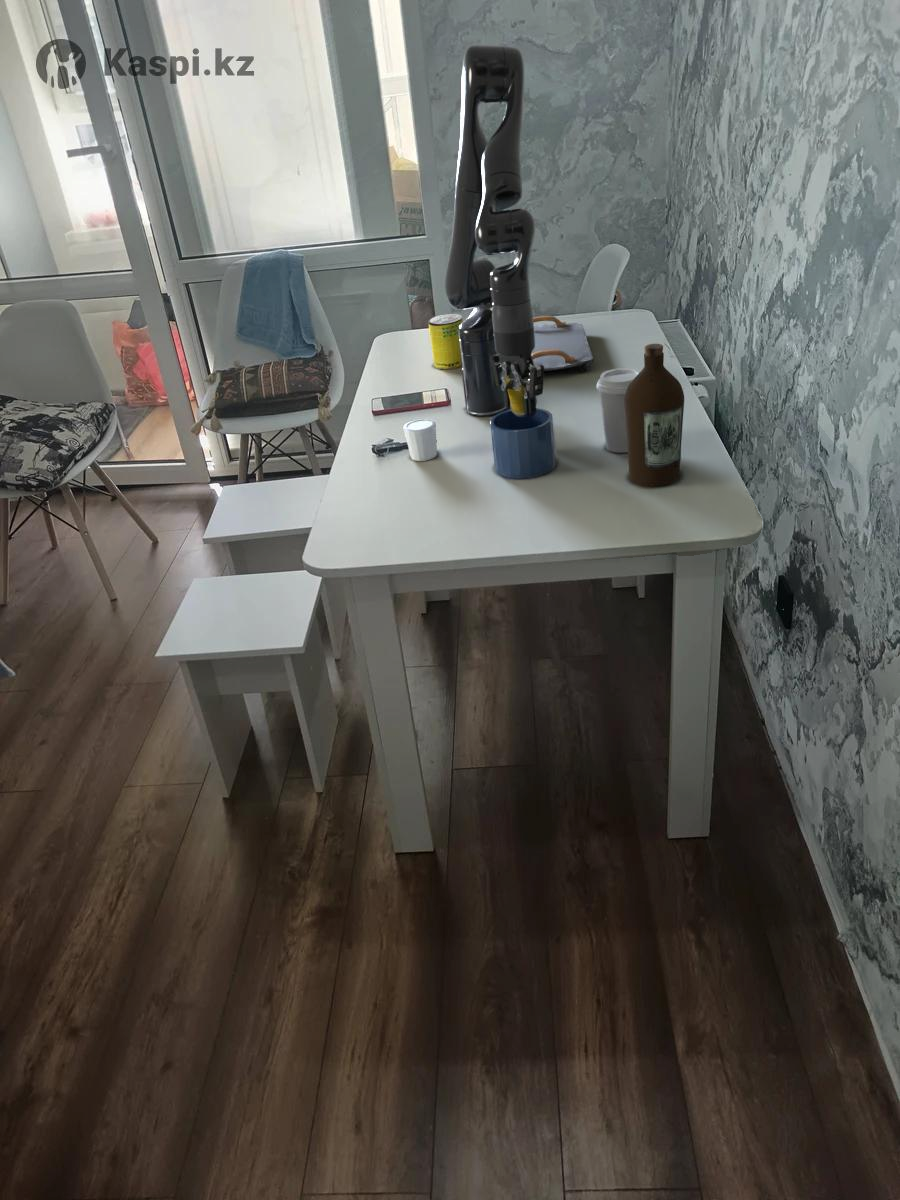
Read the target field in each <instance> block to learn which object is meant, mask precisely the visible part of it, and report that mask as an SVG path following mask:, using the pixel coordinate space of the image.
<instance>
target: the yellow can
mask: <svg viewBox="0 0 900 1200" xmlns="http://www.w3.org/2000/svg"><path fill="white" fill-rule="evenodd" d="M462 316H463V315H461V314H459V313H445V314H440V315H436V316H432V317H430V318H429V319H428V320H427V324H428V330H429V331H428V332H429V340H430V346H431V354H432V360H433V366H434V368H435V369H439V370H453V369H457V368H461V367H463V364H462V356H461V348H460V340H459V330H458V329H459V326H460V324H461V323H462V322H463V317H462Z"/></svg>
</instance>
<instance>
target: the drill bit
mask: <svg viewBox="0 0 900 1200" xmlns="http://www.w3.org/2000/svg"><path fill="white" fill-rule="evenodd" d="M513 389H514V388H513ZM513 389H507V390H508V394H509V398H510V409H511V411H512V412H513V413H514V414H515V415H516V416H518V417H526V416H525V410H524V399H523V398H524V396H523V393H522V390H521V389H520V390H519V389H515V390H513ZM527 390H528V391H529V389H527ZM535 399H536V405H537V404H538V399H537V396H536V397H535Z"/></svg>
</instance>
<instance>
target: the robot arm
mask: <svg viewBox="0 0 900 1200" xmlns="http://www.w3.org/2000/svg"><path fill="white" fill-rule="evenodd" d="M524 95H525V61H524V55H523V53H522V52H521V50H520V49H519V48H517V47H515V46H505V45H503V46H502V45H484V44H483V45H482V44H481V45H480V44H477V45H475V44H473V45H470V46H469V47H467V49H466V51H465V53H464V56H463V60H462V70H461V100H460V101H461V103H460V105H461V106H460V134H459V135H460V137H459V148H458V149H459V150H458V158H457V167H456V179H455V190H454V208H453V209H454V211H453V213H454V214H453V221H452V222H453V223H452V231H451V233H452V234H451V241H450V247H449V253H448V259H447V264H446V271H445V277H444V278H445V281H444V286H445V294H446V295H445V296H446V298H447V301H448V304H449V305H450V306H451V307H452V308H453V309H454V310H457V311H463V310H468V309H473V310H472V312H471V313H470V315H468V316H467V318H466V319H464V320H462V323H461V324H460V326H459V329H458V330H459V340H460V348H461V356H462V364H463V366H462V369H461V377H462V378H461V379H462V387H463V394H464V404H465V408H466V409H467V411H466V412H467V413H468V414H470V415H473V416H477V417H488V416H495V415H497V414H499V413H501V412H504V411H506V410H511V409H510V398H509V394H508V390H507V389H513V390H516V389H515V386H516V384H517V387H518V388H519V389H520V391H521V390H522V393H523V396H524V398H523V399H524V410H525V416H528V417H530V416H532V415H535V413H536V408H537V404H536V399H537V396H540V395H543V394H544V380H545V371H544V366H543V365H542V364H541V365H539V366H537V365H536V364H534V362H533V359H532V356H531V353H532V351H533V349H534V348H535V336H534V326H535V322H534V323H533V318H534V312H533V311H534V310H533V307H532V301H531V300H532V299H531V289H530V288H531V287H530V262H531V255H532V250H533V245H534V240H535V235H536V221H535V218H534V216H533V214H532V213H531V212H530V210H528V209H527V208H514V209H513V208H512V207H514V206H516V205H517V204H518V203H519V202H520V201H521V199H522V197H523V178H522V164H521V162H522V161H521V160H522V159H521V146H522V145H521V144H522V133H523V132H522V130H523V117H524V97H525V96H524ZM480 104H481V105H483V104H485V105H486V104H487V105H505V111H504V114H503V117H502V119H501V121H500V123H499V125H498V126H497V128H496V130H494V132H493V134H492V135H491V137H490V138H489V140H488V139H487V135H486V133H485V131H484V128H483V125H482V122H481V119H480V116H479V106H480ZM510 208H512V209H510ZM477 250H479V251H480V252H481V253H482V254H483V255H486V256H496V255H503V254H511V253H512V254H513V253H516V256H515V257H514V259H513V260H512V261H511V262H509V263H506V264H503V265H501V266H498V267H496V266H495V265H494V263H493V262H492V261H491V260H489V259H486V258H481V259H477V260H475V257H476V253H477V252H478V251H477ZM526 379H527V380H526ZM524 380H525V381H524ZM527 386H528V388H527ZM528 390H529V391H528ZM535 397H536V399H535Z"/></svg>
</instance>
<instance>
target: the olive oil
mask: <svg viewBox="0 0 900 1200" xmlns="http://www.w3.org/2000/svg"><path fill="white" fill-rule="evenodd" d="M663 350H664V345H663V344H661V343H649V344H646V345H645V346H644V353H643V362H644V363H643V364H644V366H643V368H642V369H641V370H640V373H639V374H638V375H637V376H636V377H635V378H634V379H633V380H632V382H631V383H630V384H629V386H628V388H627V390H626V393H625V398H624V407H625V419H626V432H627V446H628V452H627V460H628V461H627V463H628V464H627V465H628V478H629V480H630V481H631V482H632V483H634V484H636V485H639V486H642V487H651V488H652V487H653V488H655V487H663V486H668V485H670V484H673V483H674V482H676V481H678V480H679V478H680V476H681V460H682V459H681V456H682V439H683V424H684V412H685V411H684V409H685V393H684V390H683V389H684V388H683V386H682V384H681V383H680V381H679V380H678V379H677V378H676V377H675V375H673V374H672V373H671V372H670V370H668V369H667V368H666V367H665V365H664V364H665V363H664V362H665V361H664V359H665V357H664V356H665V353H664V352H663Z"/></svg>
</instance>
